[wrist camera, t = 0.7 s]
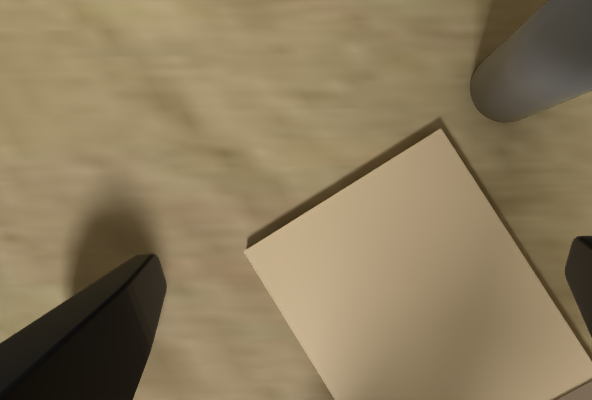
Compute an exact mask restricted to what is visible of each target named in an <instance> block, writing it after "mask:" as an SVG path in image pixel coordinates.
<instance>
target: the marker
mask: <svg viewBox="0 0 592 400" xmlns="http://www.w3.org/2000/svg"><path fill="white" fill-rule="evenodd" d="M590 91H592V0H548V1H547V2H546V3H545V4H544V5H543V6H542V7H541V8H540V9H539V10H537V11H536V12H535V13H534V14H533V15H532V16H531V17H530V18H529V19H528V20H527V21H526V22H524V23H523V24H522V25H521V26H520V27H519V28H518V29H517V30H516V31H515V32H514V33H513V34H512V35H510V36H509V37H508V38H507V39H506V40H505V41H504V42H503V43H502V44H501V45H500V46H499V47H497V48H496V49H495V50H494V51H493V52H492V53H491V54H490V55H489V56H488V57H487V58H486V59H484V60H483V61H482V62H481V63H480V64H479V66H478V67H477V68H476V70H475V71H474V74H473V76H472V79H471V84H470V92H471V97H472V100H473V103H474V104H475V106H476V108H477V109H478V110H479V111H480V112H481V113H482V114H483V115H484V116H486V117H488V118H489V119H492V120H494V121H498V122H514V121H518V120H520V119H523V118H525V117H528V116H530V115H533V114H535V113H538V112H540V111H543V110H545V109H548V108H550V107H553V106H555V105H558V104H560V103H563V102H565V101H568V100H570V99H573V98H575V97H577V96H580V95H582V94H585V93H587V92H590Z"/></svg>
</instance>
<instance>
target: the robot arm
mask: <svg viewBox="0 0 592 400" xmlns="http://www.w3.org/2000/svg"><path fill="white" fill-rule="evenodd" d="M565 276H566V279H567V282H568V284H569V286H570V289H571V291H572V293H573V296H574V298H575V300H576V302H577V305H578V307H579V309H580V312H581V314H582V316H583V319H584V321H585V323H586V325H587V328H588V330H589V332H590V335H591V337H592V236H578V237H576V238H575V239H574V240H573V242H572V245H571V248H570V252H569V256H568V259H567V263H566V267H565ZM165 294H166V279H165V276H164V273H163V270H162V267H161V264H160V261H159V258H158V256H157V255H156V254H153V253H150V254H137V255H136V256H134V257H132V258H131V259H129V260H128V261H126V262H125V263H123V264H122V265H120V266H119V267H117V268H116V269H114V270H112V271H111V272H109V273H108V274H106V275H105V276H103V277H102V278H100V279H99V280H97V281H96V282H94V283H92V284H91V285H89V286H88V287H86V288H85V289H83V290H82V291H80V292H79V293H77V294H76V295H74V296H72V297H71V298H69V299H68V300H66V301H65V302H63V303H62V304H60V305H59V306H57V307H56V308H54V309H52V310H51V311H49V312H48V313H46V314H45V315H43V316H42V317H40V318H39V319H37V320H36V321H34V322H32V323H31V324H29V325H28V326H26V327H25V328H23V329H22V330H20V331H19V332H17V333H16V334H14V335H12V336H11V337H9V338H8V339H6V340H5V341H3V342H2V343H0V400H133V397H134V395H135V392H136V389H137V387H138V384H139V381H140V379H141V376H142V373H143V371H144V368H145V365H146V363H147V360H148V357H149V354H150V351H151V348H152V344H153V341H154V337H155V333H156V329H157V325H158V321H159V317H160V313H161V309H162V305H163V301H164V297H165Z"/></svg>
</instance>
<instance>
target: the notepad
mask: <svg viewBox="0 0 592 400" xmlns="http://www.w3.org/2000/svg"><path fill="white" fill-rule="evenodd" d="M244 253H245V254H246V256H247V258H248V259H249V261H250V263H251V264H252V266H253V267H254V269H255V271H256V272H257V274H258V276H259V277H260V279H261V280H262V282H263V284H264V285H265V287H266V289H267V290H268V292H269V294H270V295H271V297H272V298H273V300H274V302H275V303H276V305H277V307H278V308H279V310H280V311H281V313H282V315H283V316H284V318H285V320H286V321H287V323H288V324H289V326H290V328H291V329H292V331H293V333H294V334H295V336H296V337H297V339H298V341H299V342H300V344H301V346H302V347H303V349H304V350H305V352H306V354H307V355H308V357H309V359H310V360H311V362H312V363H313V365H314V367H315V368H316V370H317V372H318V373H319V375H320V376H321V378H322V380H323V381H324V383H325V385H326V386H327V388H328V389H329V391H330V393H331V394H332V396H333V398H334V399H335V400H592V361H591V360H590V358H589V356H588V355H587V353H586V352H585V350H584V349H583V347H582V346H581V344H580V343H579V341H578V339H577V338H576V336H575V335H574V333H573V332H572V330H571V329H570V327H569V325H568V324H567V322H566V321H565V319H564V318H563V316H562V315H561V313H560V312H559V310H558V308H557V307H556V305H555V304H554V302H553V301H552V299H551V298H550V296H549V295H548V293H547V291H546V290H545V288H544V287H543V285H542V284H541V282H540V281H539V279H538V278H537V276H536V274H535V273H534V271H533V270H532V268H531V267H530V265H529V264H528V262H527V261H526V259H525V257H524V256H523V254H522V253H521V251H520V250H519V248H518V247H517V245H516V243H515V242H514V240H513V239H512V237H511V236H510V234H509V233H508V231H507V230H506V228H505V226H504V225H503V223H502V222H501V220H500V219H499V217H498V216H497V214H496V213H495V211H494V209H493V208H492V206H491V205H490V203H489V202H488V200H487V199H486V197H485V196H484V194H483V192H482V191H481V189H480V188H479V186H478V185H477V183H476V182H475V180H474V178H473V177H472V175H471V174H470V172H469V171H468V169H467V168H466V166H465V165H464V163H463V161H462V160H461V158H460V157H459V155H458V154H457V152H456V151H455V149H454V148H453V146H452V144H451V143H450V141H449V140H448V138H447V137H446V135H445V134H444V132H443V131H442V129H441V128H440V129H439V130H437V131H435V132H434V133H432V134H431V135H429V136H427V137H426V138H424V139H423V140H421V141H419V142H418V143H416V144H415V145H413V146H411V147H410V148H408V149H407V150H405V151H403V152H402V153H400V154H399V155H397V156H395V157H394V158H392V159H391V160H389V161H387V162H386V163H384V164H383V165H381V166H379V167H378V168H376V169H375V170H373V171H371V172H370V173H368V174H367V175H365V176H363V177H362V178H360V179H359V180H357V181H355V182H354V183H352V184H351V185H349V186H347V187H346V188H344V189H343V190H341V191H339V192H338V193H336V194H335V195H333V196H331V197H330V198H328V199H327V200H325V201H323V202H322V203H320V204H319V205H317V206H315V207H314V208H312V209H311V210H309V211H307V212H306V213H304V214H303V215H301V216H299V217H298V218H296V219H295V220H293V221H291V222H290V223H288V224H287V225H285V226H283V227H282V228H280V229H279V230H277V231H275V232H274V233H272V234H271V235H269V236H267V237H266V238H264V239H263V240H261V241H259V242H258V243H256V244H255V245H253V246H251V247H250V248H248V249H247V250H245V251H244Z"/></svg>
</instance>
